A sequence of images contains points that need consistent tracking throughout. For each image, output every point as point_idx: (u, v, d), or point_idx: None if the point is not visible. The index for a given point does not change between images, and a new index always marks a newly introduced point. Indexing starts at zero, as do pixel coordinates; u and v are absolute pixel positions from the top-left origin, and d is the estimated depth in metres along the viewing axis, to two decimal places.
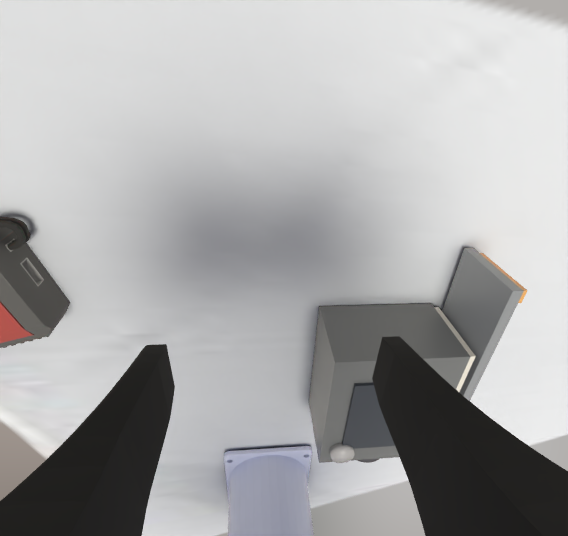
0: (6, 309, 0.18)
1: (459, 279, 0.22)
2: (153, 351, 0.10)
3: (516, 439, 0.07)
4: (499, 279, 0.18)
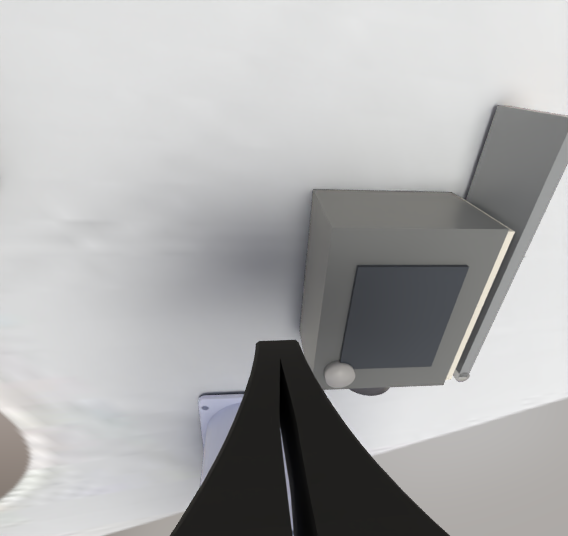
0: None
1: (490, 149, 0.17)
2: (269, 346, 0.11)
3: (361, 449, 0.07)
4: (551, 115, 0.14)
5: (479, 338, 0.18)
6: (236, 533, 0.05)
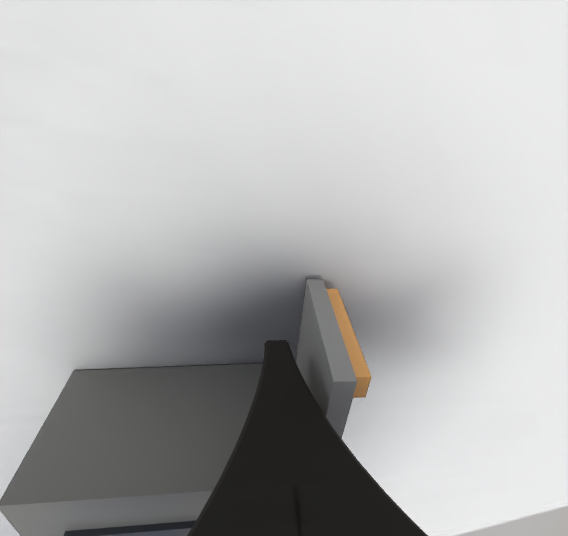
0: None
1: (302, 331, 0.13)
2: (278, 346, 0.11)
3: (345, 450, 0.07)
4: (325, 349, 0.09)
5: None
6: (255, 531, 0.05)
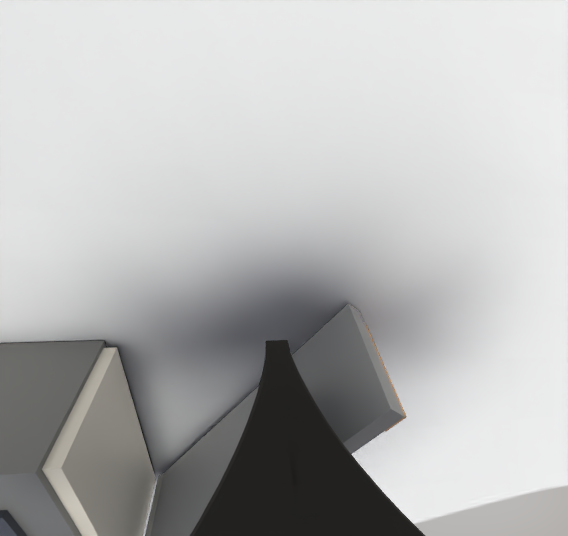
0: None
1: (316, 345, 0.13)
2: (279, 346, 0.11)
3: (343, 450, 0.07)
4: (377, 376, 0.10)
5: None
6: (257, 531, 0.05)
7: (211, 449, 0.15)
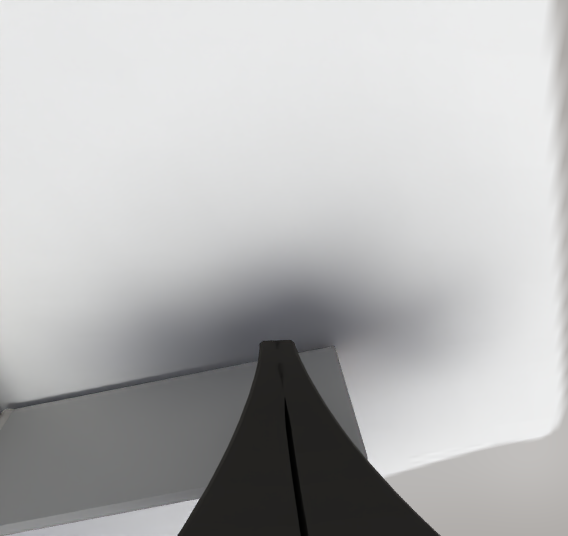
0: None
1: None
2: (273, 346, 0.11)
3: (354, 450, 0.07)
4: (356, 422, 0.11)
5: (18, 527, 0.11)
6: (245, 532, 0.05)
7: (112, 410, 0.13)
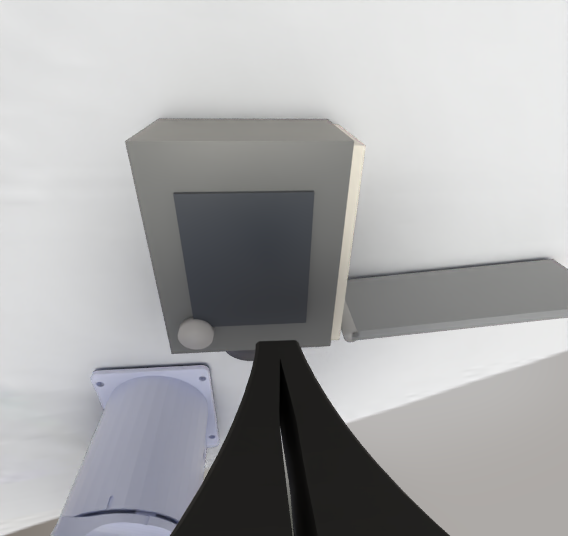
0: None
1: (528, 266, 0.21)
2: (269, 346, 0.11)
3: (361, 449, 0.07)
4: None
5: (410, 329, 0.17)
6: (236, 533, 0.05)
7: (419, 282, 0.20)
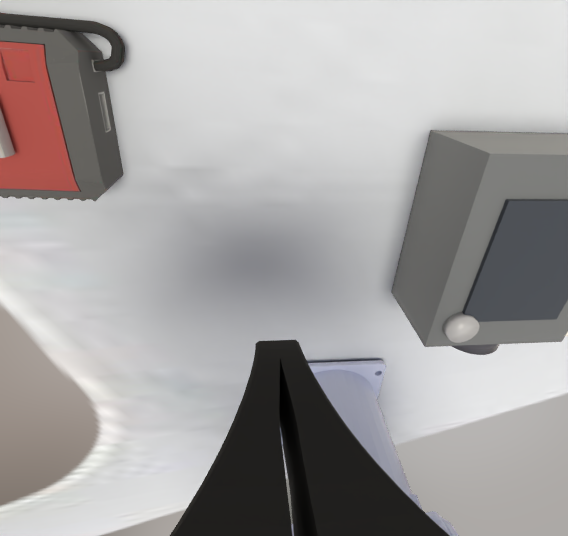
0: (64, 142, 0.14)
1: None
2: (269, 346, 0.11)
3: (361, 449, 0.07)
4: None
5: None
6: (236, 533, 0.05)
7: None
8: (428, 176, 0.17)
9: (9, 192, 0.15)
